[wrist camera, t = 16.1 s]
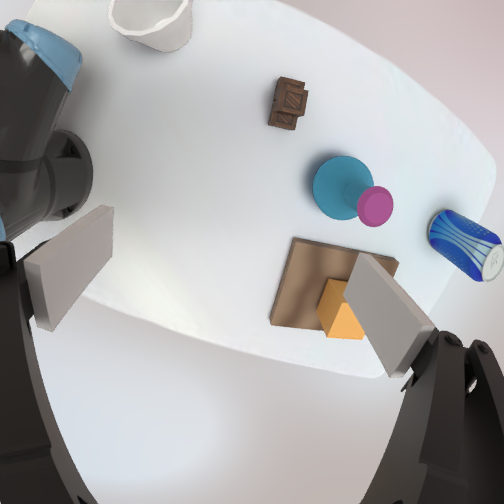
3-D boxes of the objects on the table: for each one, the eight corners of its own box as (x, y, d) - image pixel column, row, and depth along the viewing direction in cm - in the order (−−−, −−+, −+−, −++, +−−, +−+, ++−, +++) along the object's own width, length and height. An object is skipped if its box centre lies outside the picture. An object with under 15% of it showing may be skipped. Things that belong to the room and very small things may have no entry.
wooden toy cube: (316, 311, 47) (326, 337, 41) (328, 278, 45) (342, 302, 39) (348, 314, 48) (362, 339, 42) (361, 284, 46) (378, 306, 39)
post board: (269, 318, 51) (275, 351, 43) (293, 237, 45) (306, 261, 37) (362, 327, 54) (379, 357, 46) (394, 258, 48) (419, 281, 39)
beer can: (461, 218, 45) (514, 250, 31) (443, 254, 48) (492, 293, 34) (437, 200, 44) (496, 230, 29) (418, 239, 47) (471, 280, 32)
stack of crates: (329, 165, 41) (345, 171, 35) (232, 143, 39) (232, 145, 33) (349, 76, 35) (367, 68, 29) (253, 50, 33) (256, 35, 27)
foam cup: (132, 57, 32) (95, 34, 20) (152, 8, 28) (125, -28, 17) (191, 65, 33) (173, 38, 22) (211, 14, 30) (202, -27, 18)
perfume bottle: (294, 192, 42) (322, 222, 28) (325, 141, 39) (370, 148, 25) (340, 221, 44) (382, 261, 31) (370, 174, 41) (424, 197, 28)
